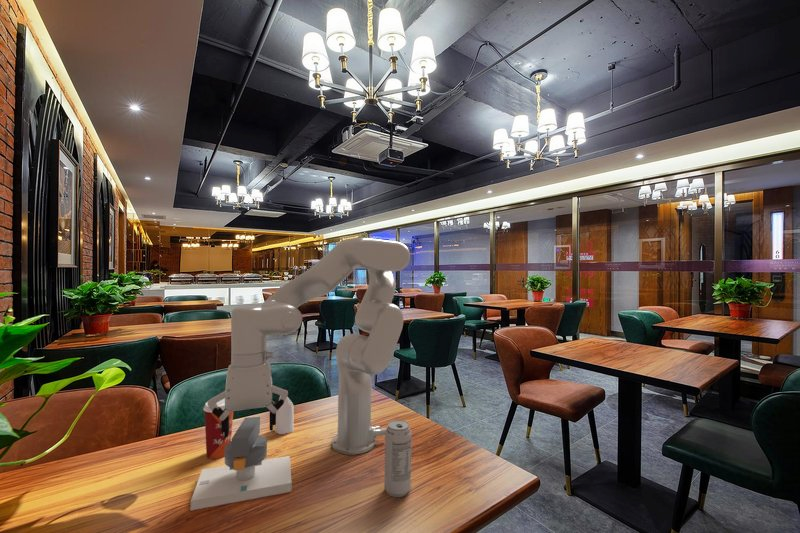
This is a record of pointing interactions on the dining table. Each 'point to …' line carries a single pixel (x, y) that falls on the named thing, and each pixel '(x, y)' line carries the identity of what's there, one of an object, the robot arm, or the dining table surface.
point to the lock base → (242, 483)
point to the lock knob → (246, 445)
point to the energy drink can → (397, 458)
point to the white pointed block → (285, 418)
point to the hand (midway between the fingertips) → (249, 431)
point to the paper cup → (216, 432)
